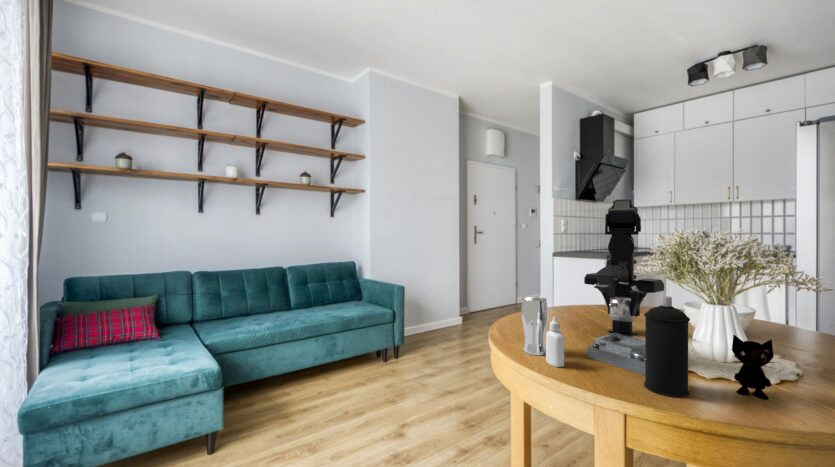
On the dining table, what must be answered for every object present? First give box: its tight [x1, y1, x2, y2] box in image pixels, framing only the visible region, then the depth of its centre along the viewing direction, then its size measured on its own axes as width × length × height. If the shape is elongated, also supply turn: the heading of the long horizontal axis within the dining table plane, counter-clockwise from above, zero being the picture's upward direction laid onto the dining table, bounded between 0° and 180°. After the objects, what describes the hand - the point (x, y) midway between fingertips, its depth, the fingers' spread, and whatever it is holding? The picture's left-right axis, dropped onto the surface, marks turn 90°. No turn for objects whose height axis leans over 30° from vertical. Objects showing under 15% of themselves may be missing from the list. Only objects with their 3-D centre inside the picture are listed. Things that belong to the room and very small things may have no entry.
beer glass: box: [521, 296, 548, 356], centre depth 106 cm, size 7×7×15 cm
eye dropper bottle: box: [545, 316, 565, 368], centre depth 97 cm, size 4×6×12 cm
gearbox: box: [587, 333, 645, 376], centre depth 98 cm, size 14×16×4 cm
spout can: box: [609, 297, 634, 322], centre depth 100 cm, size 8×6×6 cm
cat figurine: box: [731, 334, 776, 401], centre depth 78 cm, size 7×7×12 cm
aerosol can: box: [643, 295, 691, 398], centre depth 81 cm, size 8×8×20 cm
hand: (621, 314), depth 101 cm, fingers closed on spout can, 5 cm apart
